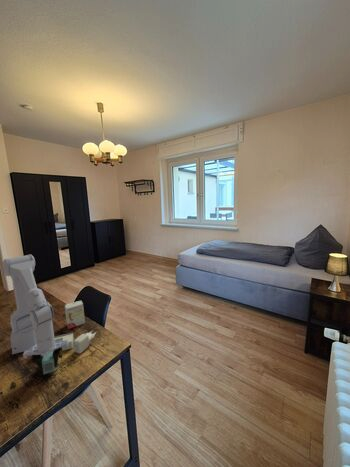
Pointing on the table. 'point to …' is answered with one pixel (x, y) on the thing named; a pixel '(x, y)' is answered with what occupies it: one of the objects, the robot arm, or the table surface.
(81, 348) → the power adapter
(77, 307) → the ink box
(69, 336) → the block
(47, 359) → the grey-green boxy piece
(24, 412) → the table surface
